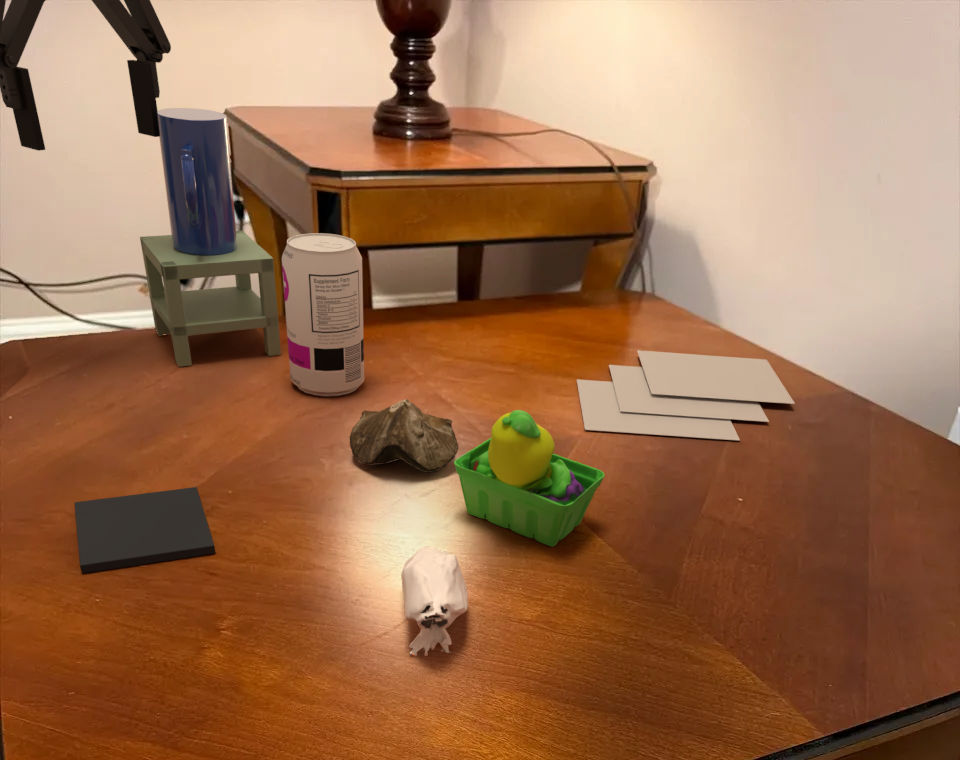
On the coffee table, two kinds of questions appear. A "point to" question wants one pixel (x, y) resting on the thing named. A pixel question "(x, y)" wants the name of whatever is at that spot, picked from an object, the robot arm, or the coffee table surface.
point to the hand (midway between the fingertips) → (94, 141)
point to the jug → (198, 180)
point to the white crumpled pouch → (433, 596)
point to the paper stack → (681, 395)
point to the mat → (141, 529)
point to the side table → (210, 293)
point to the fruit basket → (526, 481)
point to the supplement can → (324, 313)
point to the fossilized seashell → (404, 437)
